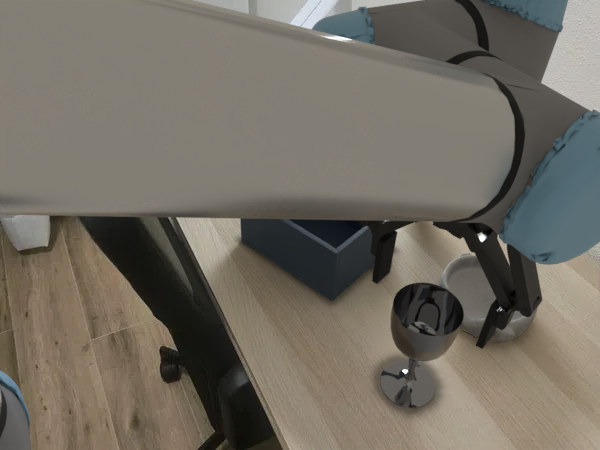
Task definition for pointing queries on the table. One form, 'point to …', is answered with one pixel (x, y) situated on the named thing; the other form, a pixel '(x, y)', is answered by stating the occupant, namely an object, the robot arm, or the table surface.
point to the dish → (478, 298)
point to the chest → (314, 250)
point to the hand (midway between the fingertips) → (429, 306)
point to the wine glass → (419, 340)
